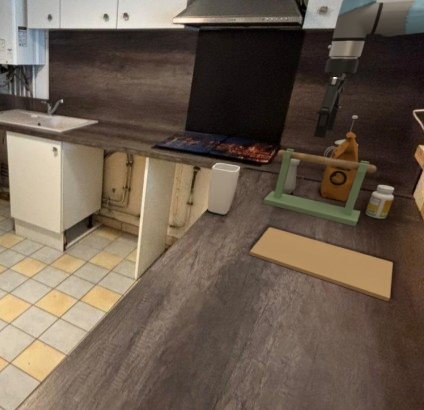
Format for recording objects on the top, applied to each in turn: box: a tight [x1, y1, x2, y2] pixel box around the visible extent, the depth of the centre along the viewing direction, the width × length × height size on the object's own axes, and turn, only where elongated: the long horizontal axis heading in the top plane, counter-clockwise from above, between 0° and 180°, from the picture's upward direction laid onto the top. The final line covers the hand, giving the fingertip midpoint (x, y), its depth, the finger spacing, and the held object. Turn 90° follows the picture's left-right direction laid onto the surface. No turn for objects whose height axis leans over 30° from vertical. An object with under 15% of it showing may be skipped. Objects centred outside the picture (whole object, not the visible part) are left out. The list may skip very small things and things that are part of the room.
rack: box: [262, 148, 370, 227], centre depth 114 cm, size 26×10×18 cm, turn 50°
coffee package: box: [320, 131, 359, 202], centre depth 125 cm, size 10×12×22 cm
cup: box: [207, 162, 241, 216], centre depth 112 cm, size 7×7×15 cm
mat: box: [248, 226, 394, 303], centre depth 89 cm, size 28×18×1 cm, turn 50°
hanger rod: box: [277, 149, 377, 174], centre depth 111 cm, size 26×2×2 cm, turn 50°
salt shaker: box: [283, 159, 301, 195], centre depth 129 cm, size 6×6×13 cm
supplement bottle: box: [365, 184, 395, 220], centre depth 112 cm, size 5×5×10 cm
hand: (323, 133), depth 109 cm, fingers open, 13 cm apart
